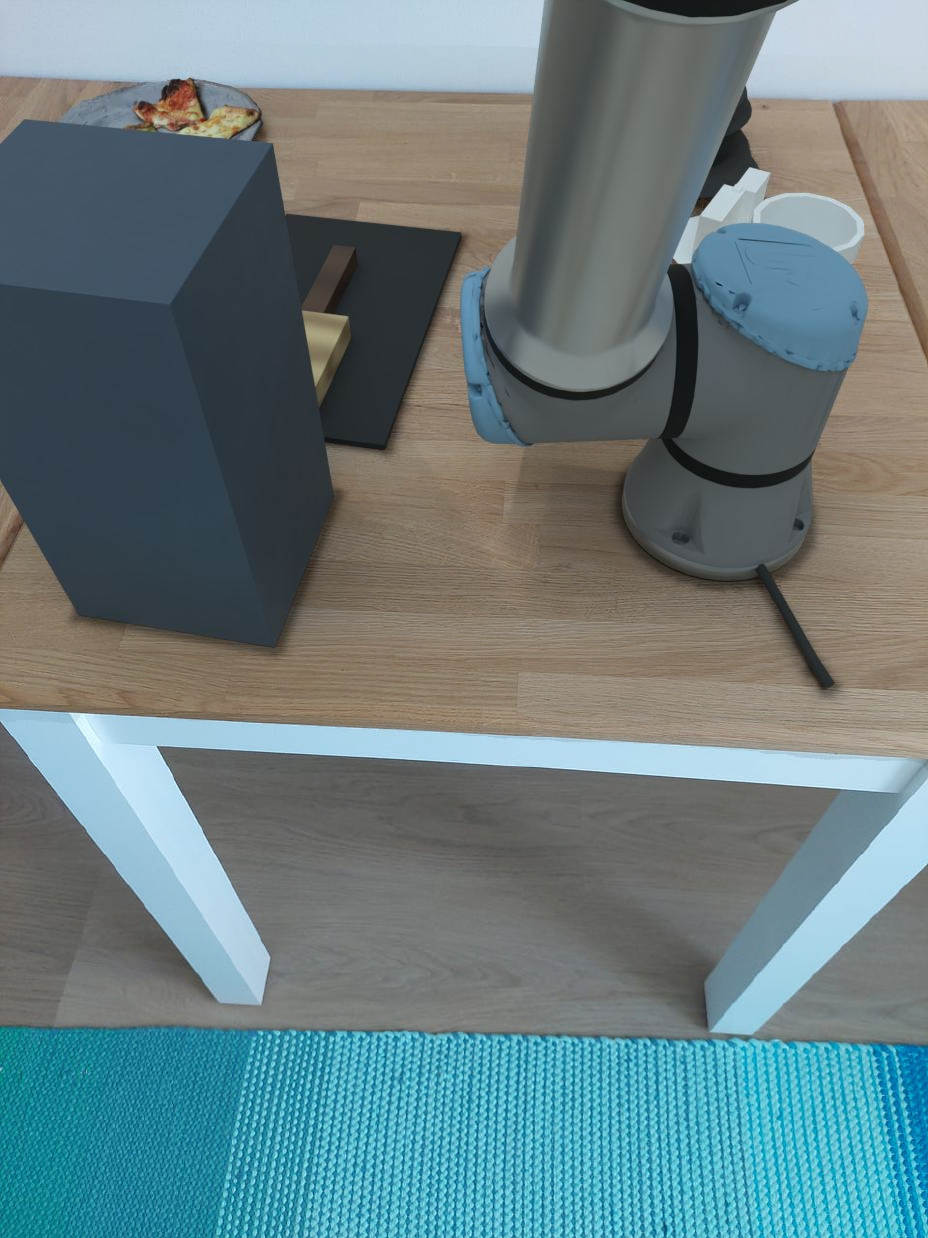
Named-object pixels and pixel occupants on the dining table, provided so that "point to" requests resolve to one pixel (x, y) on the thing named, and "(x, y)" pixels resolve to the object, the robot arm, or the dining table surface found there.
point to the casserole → (731, 153)
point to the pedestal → (158, 377)
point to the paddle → (328, 317)
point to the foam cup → (815, 220)
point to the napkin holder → (723, 211)
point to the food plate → (173, 109)
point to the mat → (374, 315)
